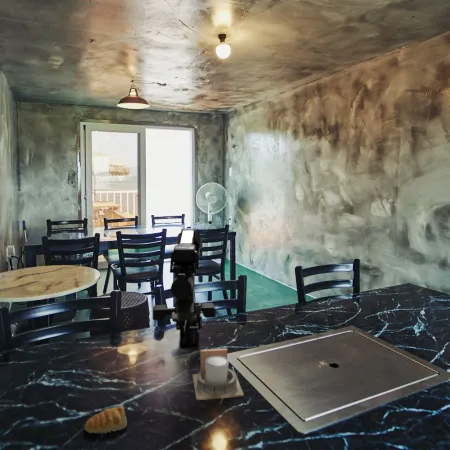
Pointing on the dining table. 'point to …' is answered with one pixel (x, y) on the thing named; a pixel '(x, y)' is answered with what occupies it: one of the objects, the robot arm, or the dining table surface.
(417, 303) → the dining table surface
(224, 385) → the dock
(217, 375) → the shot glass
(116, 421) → the pastry
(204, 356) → the block
